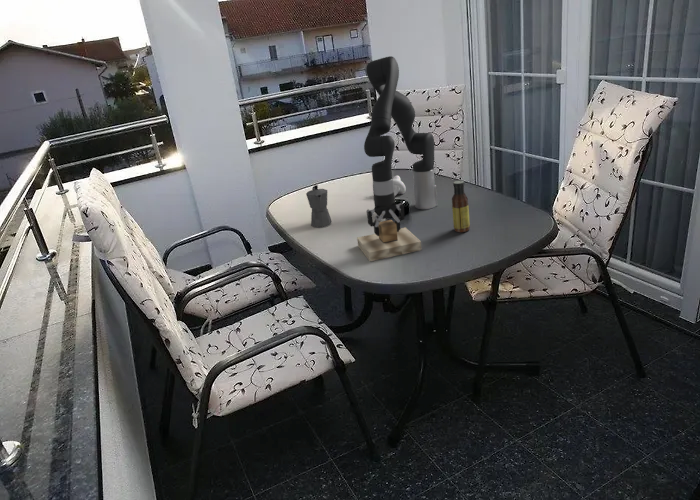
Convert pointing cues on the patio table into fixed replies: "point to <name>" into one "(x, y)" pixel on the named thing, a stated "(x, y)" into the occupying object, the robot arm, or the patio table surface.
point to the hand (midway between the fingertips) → (387, 233)
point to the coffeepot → (318, 207)
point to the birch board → (388, 245)
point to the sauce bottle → (460, 208)
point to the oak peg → (387, 231)
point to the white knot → (398, 185)
